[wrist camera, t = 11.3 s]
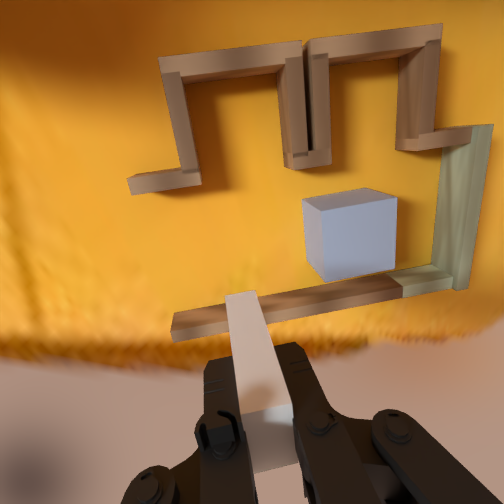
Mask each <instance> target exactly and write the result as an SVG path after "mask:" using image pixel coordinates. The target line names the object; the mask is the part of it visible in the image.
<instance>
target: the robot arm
mask: <svg viewBox="0 0 504 504" xmlns="http://www.w3.org/2000/svg"><path fill="white" fill-rule="evenodd" d="M225 302H226V309H227V317H228V324H229V332H230V339H231V347H232V354H233V356H229V357H224V358H219V359H215V360H210V361H208V363H207V366H206V368H205V370H204V414H203V415H202V416H201V417H200V419H199V420H198V422H197V424H196V427H195V432H194V434H195V437H196V440H197V443H198V449H197V450H196V451H195V452H194V453H193V455H191V456H190V457H189V458H188V459H186V460H185V461H183V462H182V463H180V464H178V465H177V466H175V467H173V468H172V469H170V470H169V469H168V468H167V467H164V466H160V465H157V466H153V467H149V468H147V469H145V470H144V471H142V472H140V473H139V474H138V475H137V476H136V478H134V480H132V481H131V483H130V485H129V487H128V488H127V490H126V492H125V494H124V497H123V499H122V502H121V504H258V497H257V492H256V487H255V481H254V474H255V473H259V472H263V471H267V470H271V469H275V468H279V467H283V466H287V465H291V464H295V463H298V460H299V463H300V467H301V470H302V476H303V486H304V496H305V498H306V497H307V498H308V502H309V504H503V503H502V502H501V501H499V500H498V499H497V498H496V497H495V496H494V495H493V494H492V493H491V492H490V491H489V490H488V489H487V488H486V487H485V486H484V485H483V484H482V483H481V482H480V481H478V479H476V478H475V477H474V476H473V475H472V474H471V473H470V472H469V471H468V470H467V469H466V468H465V467H464V466H463V465H462V464H461V463H460V462H459V461H458V460H456V459H455V458H454V457H453V456H452V455H451V454H450V453H449V452H448V451H447V450H446V449H445V448H444V447H443V446H442V445H441V444H440V443H439V442H438V441H437V440H436V439H434V438H433V437H432V436H431V435H430V434H429V433H428V432H427V431H426V430H425V429H424V428H423V427H422V426H421V425H420V424H419V423H418V422H417V421H416V420H414V419H413V418H412V417H410V416H409V415H408V414H406V413H404V412H401V411H398V410H393V409H386V410H382V411H379V412H378V413H377V414H376V415H375V416H374V417H373V420H364V419H354V418H349V417H346V416H344V415H341V414H340V413H338V412H337V411H335V410H334V409H333V408H332V407H331V406H330V404H329V402H328V401H327V399H326V397H325V394H324V392H323V390H322V388H321V386H320V384H319V381H318V379H317V377H316V375H315V373H314V371H313V369H312V366H311V364H310V362H309V360H308V357H307V355H306V353H305V351H304V349H303V348H302V347H300V346H299V345H298V344H297V343H296V342H291V343H286V344H282V345H277V346H273V344H272V341H271V337H270V334H269V331H268V328H267V325H266V322H265V319H264V316H263V313H262V310H261V307H260V304H259V301H258V298H257V295H256V292H255V290H252V291H247V292H242V293H237V294H231V295H226V296H225Z"/></svg>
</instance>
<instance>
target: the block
mask: <svg viewBox="0 0 504 504" xmlns="http://www.w3.org/2000/svg"><path fill="white" fill-rule="evenodd" d="M302 209H303V221H304V232H305V244H306V256H307V261H308V262H309V263H310V265H311V266H312V267H313V268H314V269H315V271H316V272H317V273H318V274H319V275H320V277H321V278H322V279H323V280H324V282H325V283H326V282H331V281H336V280H341V279H346V278H351V277H356V276H361V275H366V274H371V273H376V272H381V271H386V270H391V269H395V251H396V223H397V197H395V196H391V195H388V194H385V193H381V192H378V191H375V190H371V189H368V188H361V189H356V190H350V191H345V192H339V193H333V194H328V195H322V196H316V197H311V198H305V199H302Z"/></svg>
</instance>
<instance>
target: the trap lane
mask: <svg viewBox="0 0 504 504" xmlns="http://www.w3.org/2000/svg"><path fill="white" fill-rule="evenodd" d="M442 28H443V23H440V24H432V25H424V26H415V27H407V28H399V29H390V30H382V31H374V32H365V33H357V34H349V35H340V36H332V37H323V38H315V39H310V40H309V41H308V42H307V43H306V44H305V45H304V46H303V47H302V40H298V41H290V42H282V43H273V44H265V45H257V46H248V47H240V48H232V49H223V50H215V51H206V52H198V53H190V54H181V55H173V56H165V57H158V62H159V66H160V71H161V76H162V80H163V85H164V90H165V94H166V99H167V104H168V108H169V113H170V118H171V122H172V127H173V132H174V136H175V141H176V146H177V150H178V155H179V160H180V164H181V168H174V169H167V170H161V171H154V172H147V173H141V174H136V175H133V176H131V177H129V178H127V181H128V185H129V188H130V192H131V195H138V194H144V193H151V192H157V191H164V190H170V189H177V188H183V187H189V186H196V185H202V175H201V170H200V164H199V159H198V154H197V149H196V144H195V138H194V133H193V128H192V123H191V117H190V112H189V107H188V102H187V97H186V91H185V86H184V84H192V83H200V82H208V81H215V80H223V79H231V78H239V77H247V76H255V75H262V74H270V73H276V80H277V91H278V102H279V113H280V124H281V135H282V146H283V158H284V167H286V168H289V169H292V170H299V169H305V168H311V167H318V166H324V165H331V164H332V153H331V122H330V91H329V66H333V65H341V64H348V63H356V62H364V61H372V60H380V59H388V58H395V57H399V76H398V98H397V121H396V144H395V150H409V151H421V150H427V149H434V148H440V147H442V157H441V167H440V177H439V188H438V198H437V208H436V218H435V228H434V238H433V248H432V258H431V264H430V265H425V266H419V267H414V268H409V269H404V270H398V271H393V272H388V273H383V274H378V275H373V276H367V277H362V278H357V279H352V280H346V281H341V282H336V283H330V284H325V285H320V286H314V287H309V288H304V289H299V290H293V291H288V292H283V293H277V294H272V295H267V296H262V297H257V298H258V301H259V304H260V307H261V310H262V313H263V316H264V319H265V322H266V324H271V323H276V322H282V321H287V320H292V319H297V318H302V317H307V316H312V315H317V314H322V313H327V312H332V311H337V310H342V309H348V308H353V307H358V306H363V305H368V304H373V303H378V302H383V301H388V300H393V299H398V298H406V297H411V296H416V295H421V294H426V293H431V292H436V291H441V290H446V289H451V288H452V289H454V290H456V291H459V290H464V289H468V286H469V280H470V273H471V267H472V261H473V254H474V248H475V241H476V235H477V228H478V222H479V216H480V209H481V203H482V196H483V190H484V183H485V177H486V171H487V164H488V158H489V151H490V145H491V138H492V132H493V126H494V124H485V125H466V126H454V127H447V128H441V129H434V119H435V108H436V97H437V85H438V74H439V62H440V51H441V39H442ZM170 332H171V336H172V339H173V343H175V342H180V341H185V340H190V339H195V338H200V337H205V336H210V335H216V334H221V333H226V332H229V324H228V317H227V309H226V303H225V304H219V305H214V306H209V307H203V308H198V309H193V310H188V311H182V312H177V313H174V315H173V320H172V326H171V331H170Z"/></svg>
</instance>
